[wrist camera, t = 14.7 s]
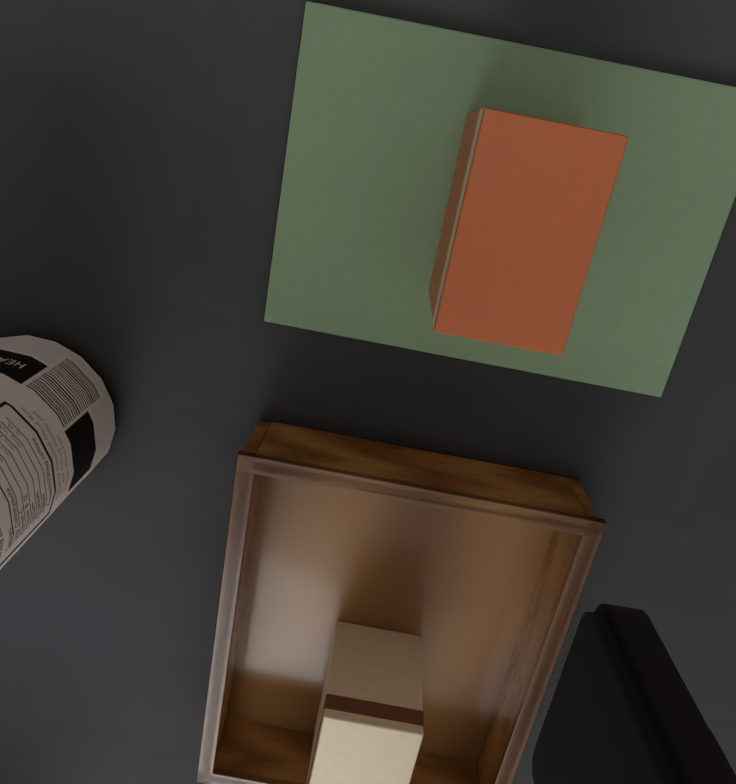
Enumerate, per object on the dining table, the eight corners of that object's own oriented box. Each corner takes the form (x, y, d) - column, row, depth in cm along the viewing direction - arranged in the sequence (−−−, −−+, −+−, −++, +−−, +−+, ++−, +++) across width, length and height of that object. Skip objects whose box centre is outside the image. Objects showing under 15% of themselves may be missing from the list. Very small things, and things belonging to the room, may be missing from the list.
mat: (265, 319, 34) (263, 321, 33) (307, 2, 29) (305, 0, 28) (658, 394, 34) (661, 397, 34) (768, 94, 29) (773, 94, 28)
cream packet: (315, 721, 42) (299, 828, 36) (336, 619, 40) (322, 716, 33) (394, 735, 43) (392, 845, 36) (421, 635, 40) (424, 734, 33)
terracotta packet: (427, 291, 32) (433, 332, 26) (467, 111, 29) (484, 106, 23) (531, 311, 32) (562, 357, 26) (580, 134, 29) (630, 135, 23)
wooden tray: (216, 718, 43) (196, 781, 39) (257, 415, 36) (237, 453, 31) (484, 767, 44) (492, 835, 39) (583, 477, 36) (606, 523, 32)
